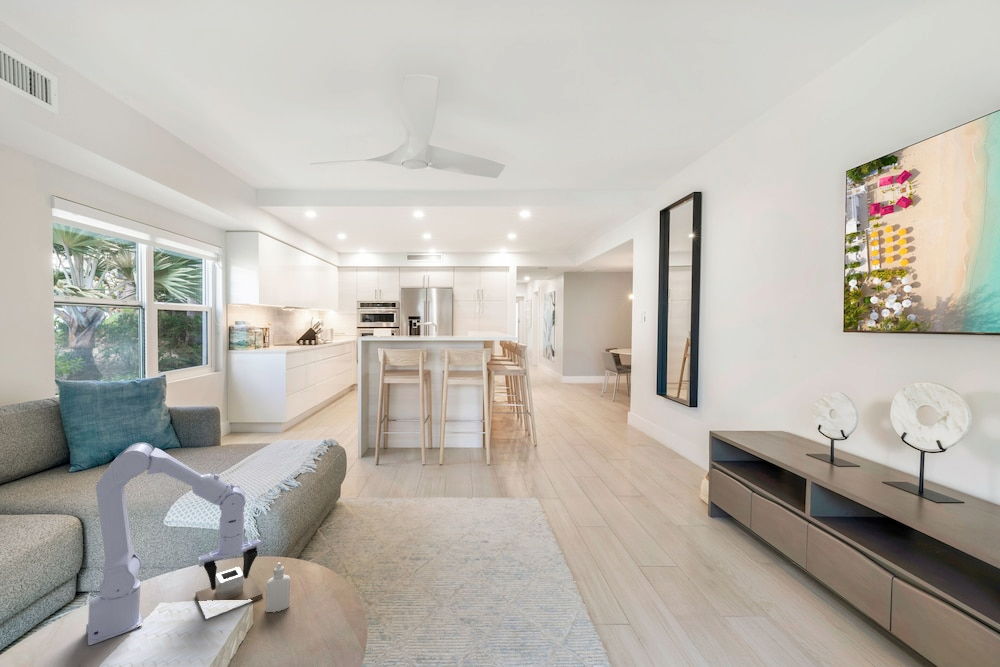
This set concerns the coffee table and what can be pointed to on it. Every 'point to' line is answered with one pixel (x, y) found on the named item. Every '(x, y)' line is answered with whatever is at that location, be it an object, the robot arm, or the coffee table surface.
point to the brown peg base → (249, 592)
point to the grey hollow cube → (229, 583)
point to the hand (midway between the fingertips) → (229, 582)
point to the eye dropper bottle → (278, 590)
